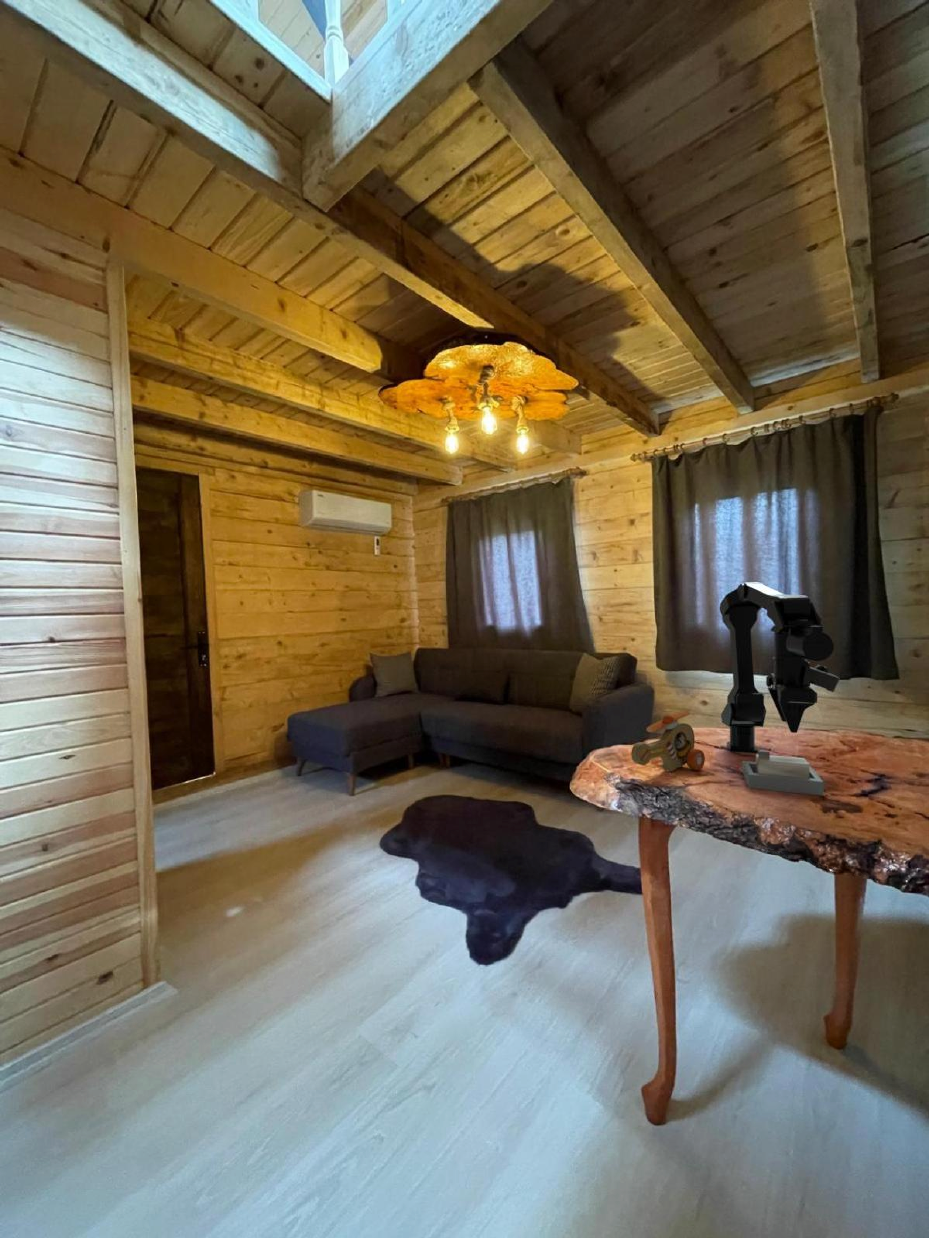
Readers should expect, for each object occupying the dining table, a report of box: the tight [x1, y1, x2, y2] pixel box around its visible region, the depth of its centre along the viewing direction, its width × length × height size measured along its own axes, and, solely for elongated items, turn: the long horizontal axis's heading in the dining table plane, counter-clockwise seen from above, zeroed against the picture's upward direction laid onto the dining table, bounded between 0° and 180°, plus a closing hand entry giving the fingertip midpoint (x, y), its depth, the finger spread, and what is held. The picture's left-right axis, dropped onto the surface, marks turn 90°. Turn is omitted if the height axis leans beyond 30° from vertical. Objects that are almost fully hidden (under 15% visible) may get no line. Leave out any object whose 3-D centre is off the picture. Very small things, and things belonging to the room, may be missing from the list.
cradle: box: [742, 760, 824, 796], centre depth 107 cm, size 9×13×3 cm
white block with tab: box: [755, 749, 810, 778], centre depth 107 cm, size 4×9×6 cm, turn 68°
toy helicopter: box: [630, 709, 706, 772], centre depth 115 cm, size 8×21×14 cm, turn 122°
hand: (789, 726), depth 108 cm, fingers open, 9 cm apart
